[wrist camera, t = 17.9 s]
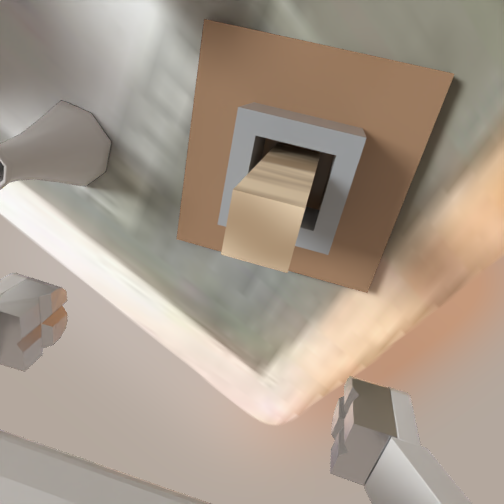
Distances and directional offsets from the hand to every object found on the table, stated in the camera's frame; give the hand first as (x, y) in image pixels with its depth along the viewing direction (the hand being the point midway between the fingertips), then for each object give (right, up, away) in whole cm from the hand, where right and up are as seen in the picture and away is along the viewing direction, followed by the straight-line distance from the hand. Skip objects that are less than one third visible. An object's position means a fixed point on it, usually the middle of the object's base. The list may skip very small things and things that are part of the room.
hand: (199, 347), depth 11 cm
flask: (-15, +13, +25) cm, 32 cm away
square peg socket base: (+5, +10, +22) cm, 24 cm away
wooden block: (+5, +9, +21) cm, 23 cm away
